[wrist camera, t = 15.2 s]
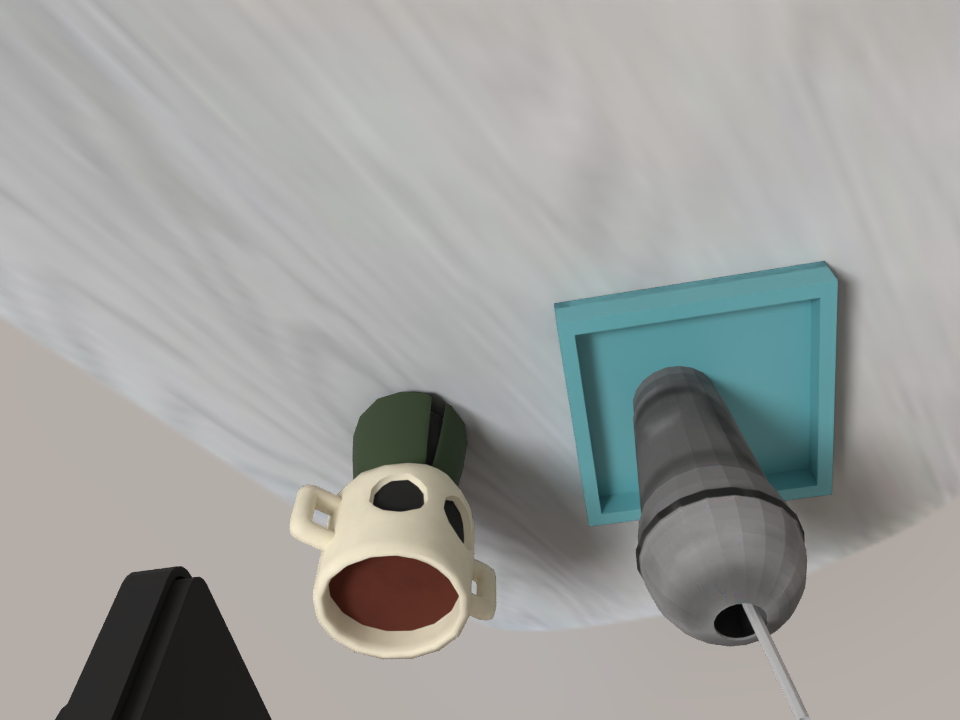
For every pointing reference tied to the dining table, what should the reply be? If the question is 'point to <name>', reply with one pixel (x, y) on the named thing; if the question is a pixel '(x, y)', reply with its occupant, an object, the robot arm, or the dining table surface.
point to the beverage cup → (713, 522)
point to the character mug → (397, 536)
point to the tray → (707, 374)
